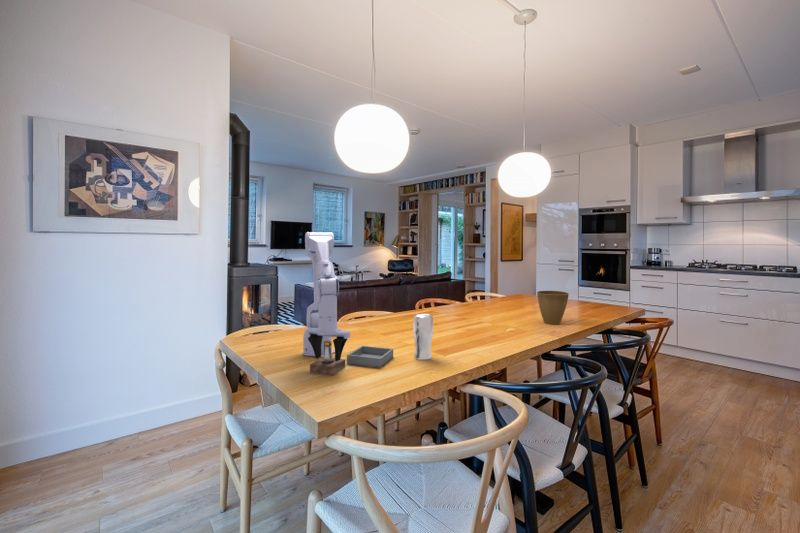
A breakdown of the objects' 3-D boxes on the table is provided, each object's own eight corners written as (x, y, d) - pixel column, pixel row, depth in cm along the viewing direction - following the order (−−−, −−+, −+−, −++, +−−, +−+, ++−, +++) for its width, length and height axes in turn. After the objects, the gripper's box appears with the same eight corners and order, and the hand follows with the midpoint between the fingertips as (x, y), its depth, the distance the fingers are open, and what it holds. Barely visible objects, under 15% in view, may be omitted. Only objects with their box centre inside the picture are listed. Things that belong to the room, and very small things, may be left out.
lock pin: (322, 370, 113) (322, 342, 112) (326, 368, 115) (326, 340, 115) (329, 371, 112) (329, 342, 112) (333, 368, 114) (333, 340, 114)
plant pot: (532, 320, 193) (533, 290, 192) (561, 320, 191) (562, 290, 191) (540, 326, 178) (541, 293, 177) (572, 326, 177) (573, 294, 176)
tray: (346, 363, 119) (346, 354, 119) (362, 353, 131) (362, 345, 131) (380, 368, 115) (380, 358, 115) (393, 357, 127) (393, 348, 127)
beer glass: (427, 362, 122) (427, 318, 121) (409, 358, 125) (409, 315, 124) (436, 356, 128) (436, 314, 127) (419, 353, 131) (419, 312, 130)
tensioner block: (310, 372, 111) (309, 364, 111) (323, 364, 119) (323, 356, 119) (332, 375, 109) (332, 367, 109) (345, 367, 116) (345, 359, 116)
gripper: (300, 317, 111) (300, 360, 112) (342, 320, 107) (342, 365, 107) (313, 313, 118) (313, 353, 119) (353, 316, 113) (353, 358, 114)
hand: (328, 359), depth 114 cm, fingers open, 6 cm apart
